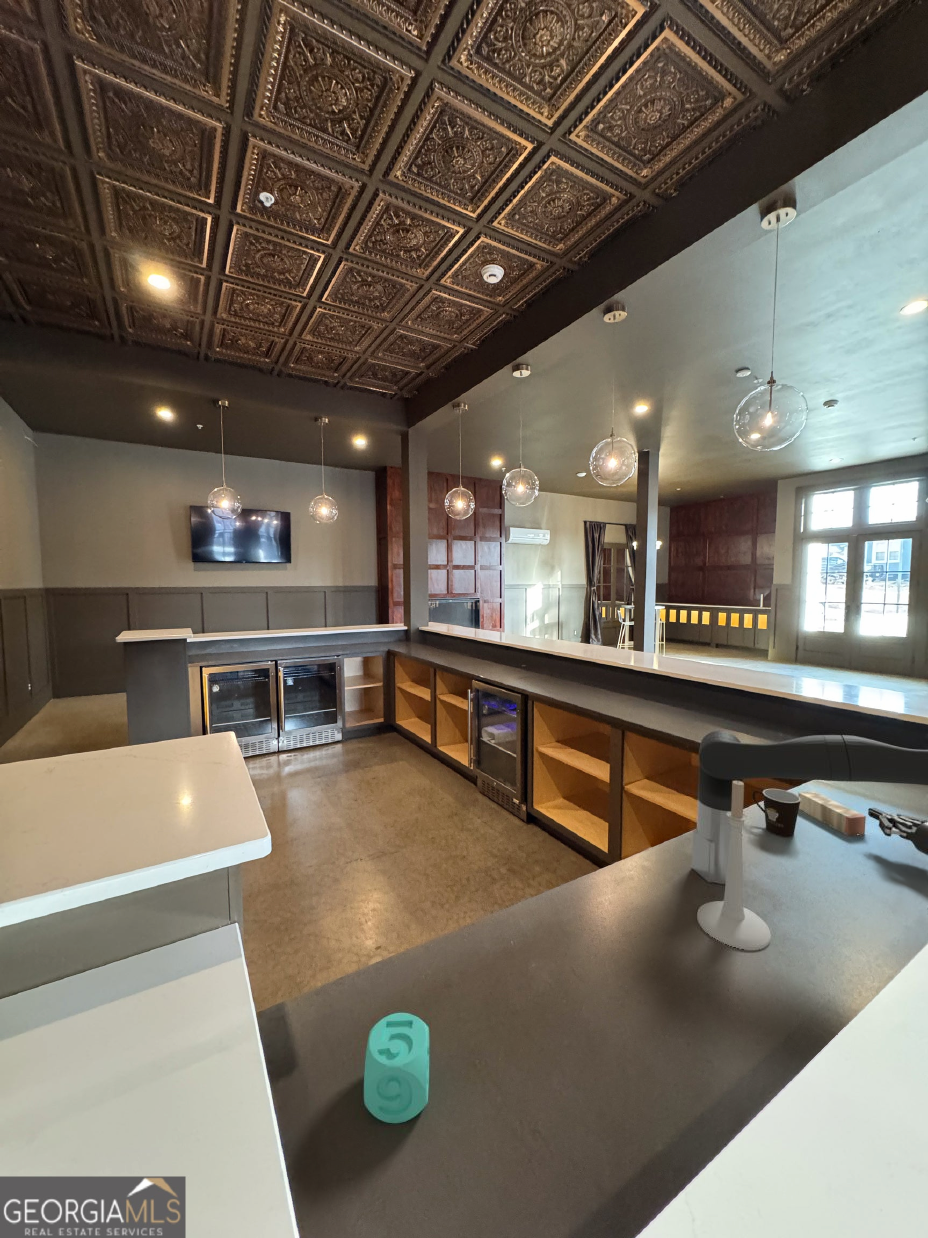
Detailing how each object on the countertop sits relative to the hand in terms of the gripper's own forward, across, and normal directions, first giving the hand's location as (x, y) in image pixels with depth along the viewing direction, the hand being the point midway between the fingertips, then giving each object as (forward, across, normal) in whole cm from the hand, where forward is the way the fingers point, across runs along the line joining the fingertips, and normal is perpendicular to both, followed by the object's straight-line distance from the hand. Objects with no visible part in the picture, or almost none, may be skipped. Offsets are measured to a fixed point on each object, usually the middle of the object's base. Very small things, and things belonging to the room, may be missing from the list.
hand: (870, 811), depth 127 cm
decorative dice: (-39, +124, +8) cm, 131 cm away
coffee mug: (+11, +18, +8) cm, 22 cm away
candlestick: (-20, +57, +8) cm, 61 cm away
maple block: (+3, 0, +6) cm, 6 cm away
